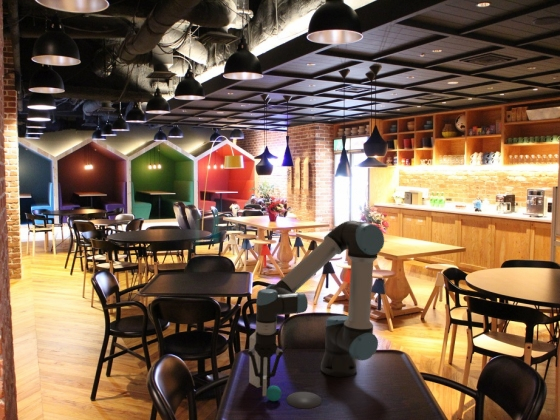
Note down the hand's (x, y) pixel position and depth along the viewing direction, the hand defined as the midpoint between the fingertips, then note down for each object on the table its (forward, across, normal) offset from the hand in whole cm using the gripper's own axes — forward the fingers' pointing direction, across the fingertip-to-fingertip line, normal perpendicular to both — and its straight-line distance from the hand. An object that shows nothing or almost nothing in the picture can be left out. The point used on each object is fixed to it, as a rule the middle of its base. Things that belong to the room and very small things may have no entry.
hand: (264, 394), depth 182 cm
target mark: (+2, +15, 0) cm, 15 cm away
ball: (0, +3, 0) cm, 3 cm away
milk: (+3, -2, +15) cm, 15 cm away
